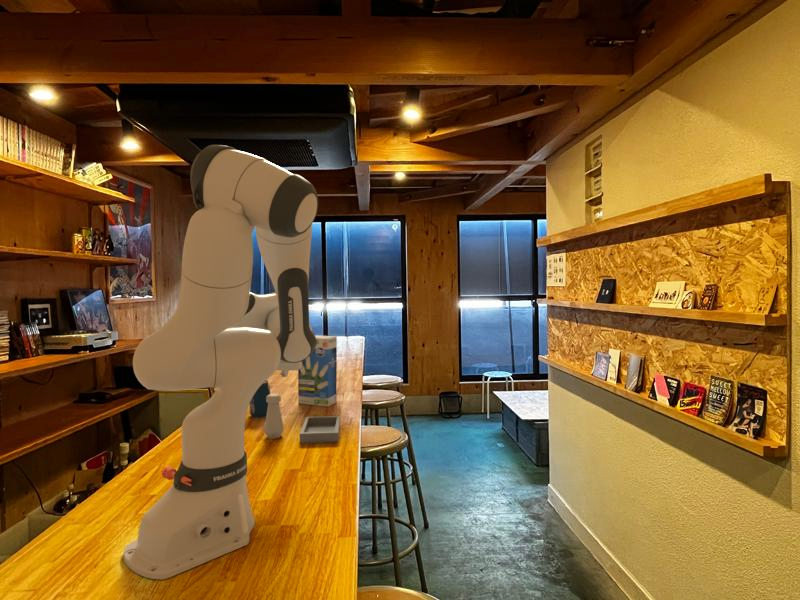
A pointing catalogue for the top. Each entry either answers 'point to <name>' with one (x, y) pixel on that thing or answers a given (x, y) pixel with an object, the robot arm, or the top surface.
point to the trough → (320, 430)
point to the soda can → (260, 401)
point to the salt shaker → (273, 417)
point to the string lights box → (319, 374)
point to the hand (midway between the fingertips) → (267, 374)
